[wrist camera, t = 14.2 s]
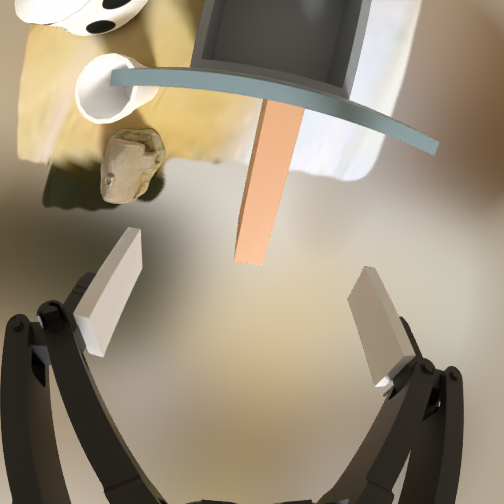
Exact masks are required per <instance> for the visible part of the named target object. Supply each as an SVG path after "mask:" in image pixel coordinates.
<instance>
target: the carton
mask: <svg viewBox="0 0 504 504" xmlns="http://www.w3.org/2000/svg"><path fill="white" fill-rule="evenodd" d="M371 1H372V0H205V3H204V6H203V10H202V14H201V18H200V22H199V27H198V31H197V35H196V40H195V45H194V49H193V54H192V59H191V65H190V67H191V68H201V69H211V70H220V71H227V72H235V73H241V74H247V75H253V76H259V77H264V78H269V79H274V80H278V81H283V82H287V83H292V84H296V85H300V86H304V87H307V88H311V89H315V90H318V91H322V92H325V93H328V94H332V95H335V96H338V97H341V98H344V99H347V100H349V98H350V94H351V90H352V86H353V82H354V78H355V74H356V70H357V66H358V62H359V58H360V53H361V49H362V44H363V40H364V35H365V31H366V26H367V21H368V16H369V11H370V6H371Z"/></svg>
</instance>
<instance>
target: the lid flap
mask: <svg viewBox="0 0 504 504" xmlns="http://www.w3.org/2000/svg"><path fill="white" fill-rule="evenodd" d="M110 86H162V87H179V88H191V89H201V90H210V91H218V92H226V93H233V94H239V95H245V96H251V97H256V98H262V99H263V103H262V107H261V112H260V116H259V121H258V126H257V130H256V135H255V140H254V145H253V149H252V154H251V159H250V164H249V169H248V174H247V179H246V183H245V188H244V193H243V198H242V203H241V208H240V214H239V219H238V228H237V237H236V246H235V256H234V262H240V263H246V264H253V265H259V266H262V264H263V261H264V257H265V253H266V250H267V246H268V243H269V239H270V236H271V232H272V228H273V225H274V221H275V217H276V214H277V210H278V207H279V203H280V200H281V196H282V192H283V189H284V185H285V181H286V178H287V174H288V170H289V166H290V163H291V159H292V155H293V151H294V148H295V144H296V140H297V136H298V133H299V129H300V125H301V121H302V117H303V114H304V110H305V108H306V109H310V110H313V111H317V112H321V113H324V114H327V115H331V116H334V117H337V118H341V119H344V120H347V121H350V122H353V123H356V124H359V125H362V126H365V127H367V128H370V129H373V130H375V131H378V132H381V133H383V134H386V135H388V136H391V137H393V138H396V139H398V140H401V141H403V142H405V143H408V144H410V145H412V146H414V147H417V148H419V149H421V150H423V151H425V152H428V153H430V154H432V155H435V152H436V149H437V147H438V144H439V142H438V141H436V140H434V139H432V138H431V137H429V136H427V135H425V134H423V133H421V132H419V131H417V130H415V129H414V128H412V127H410V126H408V125H406V124H403V123H402V122H399V121H397V120H395V119H393V118H391V117H389V116H386V115H384V114H382V113H380V112H377V111H375V110H373V109H370V108H368V107H365V106H363V105H360V104H358V103H355V102H353V101H350V100H347V99H344V98H341V97H338V96H335V95H332V94H328V93H325V92H322V91H318V90H315V89H311V88H307V87H304V86H300V85H296V84H292V83H287V82H283V81H278V80H274V79H269V78H264V77H259V76H253V75H247V74H241V73H235V72H227V71H220V70H211V69H201V68H186V67H152V68H131V69H118V70H112V73H111V83H110Z"/></svg>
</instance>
